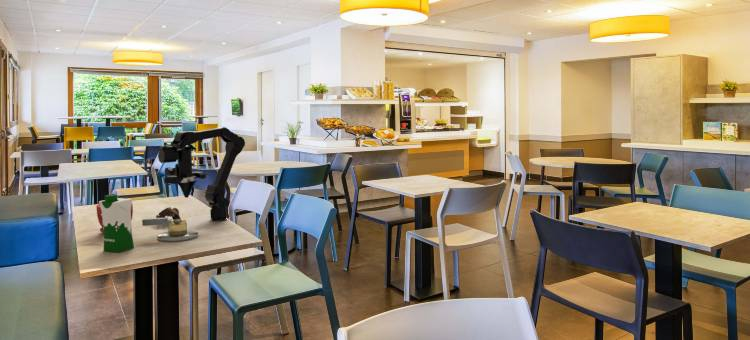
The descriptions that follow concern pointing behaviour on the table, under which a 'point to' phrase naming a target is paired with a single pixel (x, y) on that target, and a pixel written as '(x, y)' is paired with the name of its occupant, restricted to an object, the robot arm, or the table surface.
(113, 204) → the milk carton
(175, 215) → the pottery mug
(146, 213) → the table surface
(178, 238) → the spindle flange
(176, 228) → the lever valve handle
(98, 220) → the plant pot
